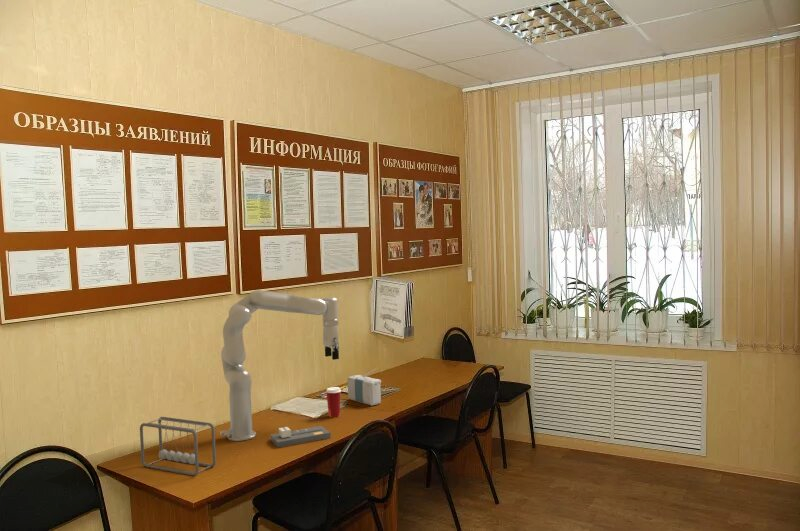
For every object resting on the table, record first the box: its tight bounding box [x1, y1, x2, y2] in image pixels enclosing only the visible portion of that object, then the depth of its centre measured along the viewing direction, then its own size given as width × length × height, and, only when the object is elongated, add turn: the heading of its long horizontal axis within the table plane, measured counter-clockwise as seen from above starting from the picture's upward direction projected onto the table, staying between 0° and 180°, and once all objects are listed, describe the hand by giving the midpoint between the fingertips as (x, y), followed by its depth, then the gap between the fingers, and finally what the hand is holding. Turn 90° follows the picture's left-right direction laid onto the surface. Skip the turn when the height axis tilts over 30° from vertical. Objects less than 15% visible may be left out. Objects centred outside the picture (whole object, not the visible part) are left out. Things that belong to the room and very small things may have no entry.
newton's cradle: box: [139, 416, 217, 477], centre depth 244 cm, size 30×10×18 cm, turn 64°
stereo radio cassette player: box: [347, 366, 382, 407], centre depth 333 cm, size 21×8×20 cm, turn 42°
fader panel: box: [269, 425, 331, 449], centre depth 273 cm, size 24×12×3 cm, turn 117°
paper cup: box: [325, 386, 342, 418], centre depth 308 cm, size 8×8×14 cm
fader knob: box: [278, 426, 292, 438], centre depth 270 cm, size 4×5×3 cm
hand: (331, 357), depth 299 cm, fingers open, 9 cm apart
